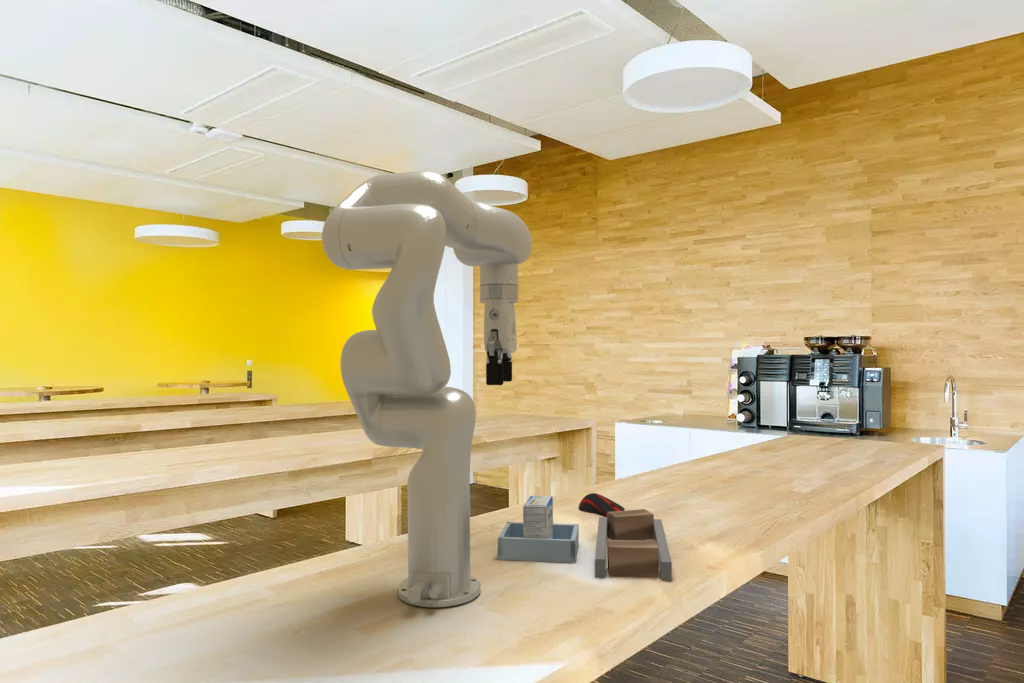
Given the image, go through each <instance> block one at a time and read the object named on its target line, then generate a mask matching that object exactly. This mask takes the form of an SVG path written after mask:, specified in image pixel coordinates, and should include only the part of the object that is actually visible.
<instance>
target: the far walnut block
mask: <svg viewBox="0 0 1024 683" xmlns="http://www.w3.org/2000/svg"><path fill="white" fill-rule="evenodd" d="M654 519H655V517H654V513H653V512H650V511H649V510H647V509H645V508H642V509H639V508H638V509H627V510H626V509H625V510H624V511H613V512H607V539H609V540H649V541H652V540H654Z"/></svg>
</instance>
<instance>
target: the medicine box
mask: <svg viewBox="0 0 1024 683" xmlns="http://www.w3.org/2000/svg"><path fill="white" fill-rule="evenodd" d="M553 503H554V498H553V496H552V495H541V494H539V495H537V494H536V495H531V496H529V497H528V499H527V500H526V501H525V503H524V504H523V506H522V521H523V536H524V538H545V539H553V524H554V504H553Z"/></svg>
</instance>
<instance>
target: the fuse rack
mask: <svg viewBox="0 0 1024 683" xmlns="http://www.w3.org/2000/svg"><path fill="white" fill-rule="evenodd" d="M596 535H597V536H596V544H595V545H596V546H595V556H594V578H599V579H603V578H606V568H607V567H606V564H607V562H606V561H607V540H608V537H607V517H605V516H601V517H600V516H599V517H598V524H597V534H596ZM653 541H656V543H657V545H658V548H659V576H660V579H661V581H663V582H672V581H673V578H672V576H673V574H672V573H673V569H672V568H673V566H672V565H673V564H672V563H673V562H672V558H671V555H670V550H669V549H670V548H669V546H668V541H667V537H666V534H665V530H664V525H663V520H662V519H661V518H656V519H655V518H654V539H653Z"/></svg>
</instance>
